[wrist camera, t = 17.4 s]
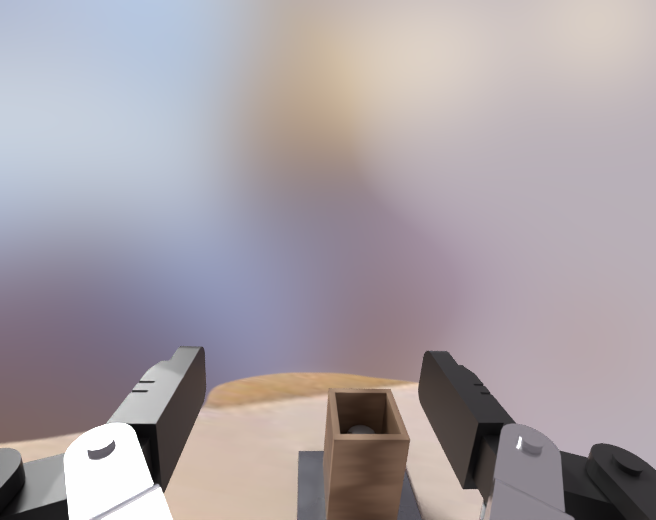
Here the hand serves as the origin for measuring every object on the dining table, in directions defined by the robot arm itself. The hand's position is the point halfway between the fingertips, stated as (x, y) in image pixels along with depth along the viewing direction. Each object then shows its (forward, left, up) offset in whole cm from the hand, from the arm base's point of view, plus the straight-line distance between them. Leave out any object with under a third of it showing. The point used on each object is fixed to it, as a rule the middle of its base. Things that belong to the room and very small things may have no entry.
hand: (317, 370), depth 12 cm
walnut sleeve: (+6, +15, -25) cm, 30 cm away
